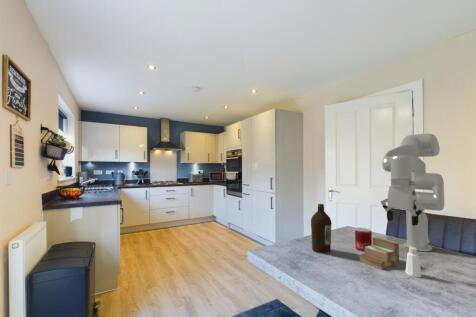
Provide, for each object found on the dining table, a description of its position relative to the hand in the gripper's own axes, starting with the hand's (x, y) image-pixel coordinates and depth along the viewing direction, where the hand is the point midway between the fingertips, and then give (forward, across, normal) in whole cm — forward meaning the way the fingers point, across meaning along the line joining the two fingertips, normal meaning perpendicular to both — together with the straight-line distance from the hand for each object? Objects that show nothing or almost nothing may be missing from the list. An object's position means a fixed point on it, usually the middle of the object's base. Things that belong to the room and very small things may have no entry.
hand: (401, 222), depth 99 cm
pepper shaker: (+21, -3, -2) cm, 22 cm away
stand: (+21, +11, -2) cm, 24 cm away
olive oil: (+21, +35, +11) cm, 42 cm away
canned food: (+21, +25, -11) cm, 35 cm away
